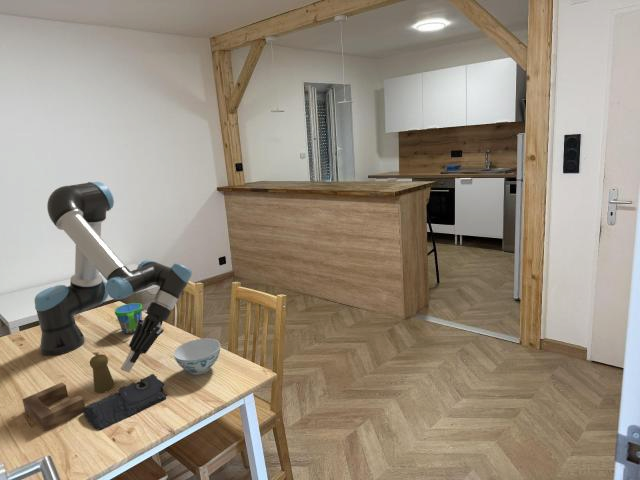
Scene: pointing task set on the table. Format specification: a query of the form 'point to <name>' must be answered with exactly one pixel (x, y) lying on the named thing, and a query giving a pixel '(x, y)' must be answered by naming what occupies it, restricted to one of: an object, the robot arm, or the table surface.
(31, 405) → the walnut pocket
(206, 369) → the chinaware
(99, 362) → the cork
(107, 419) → the dark slate chunk
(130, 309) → the snack cup
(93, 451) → the table surface
